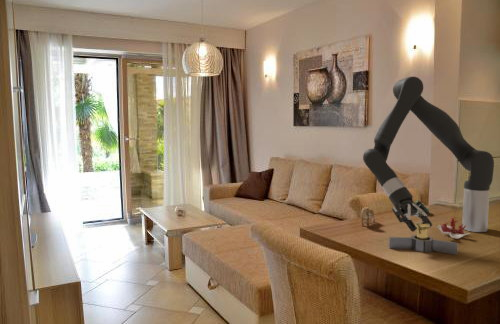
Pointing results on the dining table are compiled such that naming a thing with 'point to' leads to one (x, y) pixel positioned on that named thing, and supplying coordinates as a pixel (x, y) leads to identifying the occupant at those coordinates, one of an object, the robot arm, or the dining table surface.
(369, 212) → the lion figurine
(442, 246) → the hinge
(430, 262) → the dining table surface
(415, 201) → the decorative artifact
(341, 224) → the dining table surface
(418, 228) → the hinge pin
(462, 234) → the figurine
